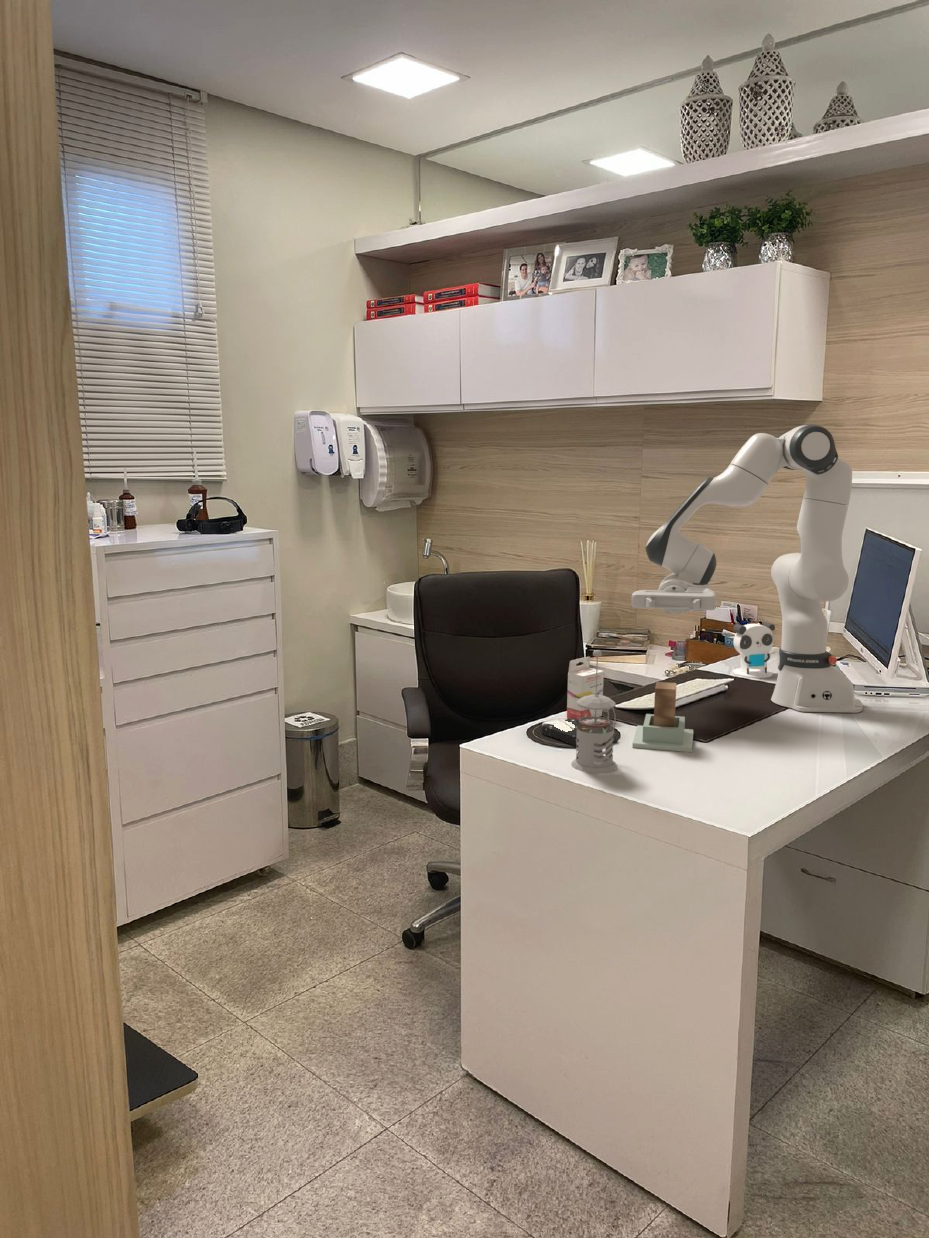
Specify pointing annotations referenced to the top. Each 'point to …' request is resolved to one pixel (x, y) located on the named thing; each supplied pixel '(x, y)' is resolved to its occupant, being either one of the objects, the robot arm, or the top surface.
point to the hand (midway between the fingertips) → (672, 605)
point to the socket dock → (663, 736)
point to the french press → (595, 734)
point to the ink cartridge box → (582, 687)
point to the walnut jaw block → (665, 704)
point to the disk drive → (570, 735)
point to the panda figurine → (753, 649)
